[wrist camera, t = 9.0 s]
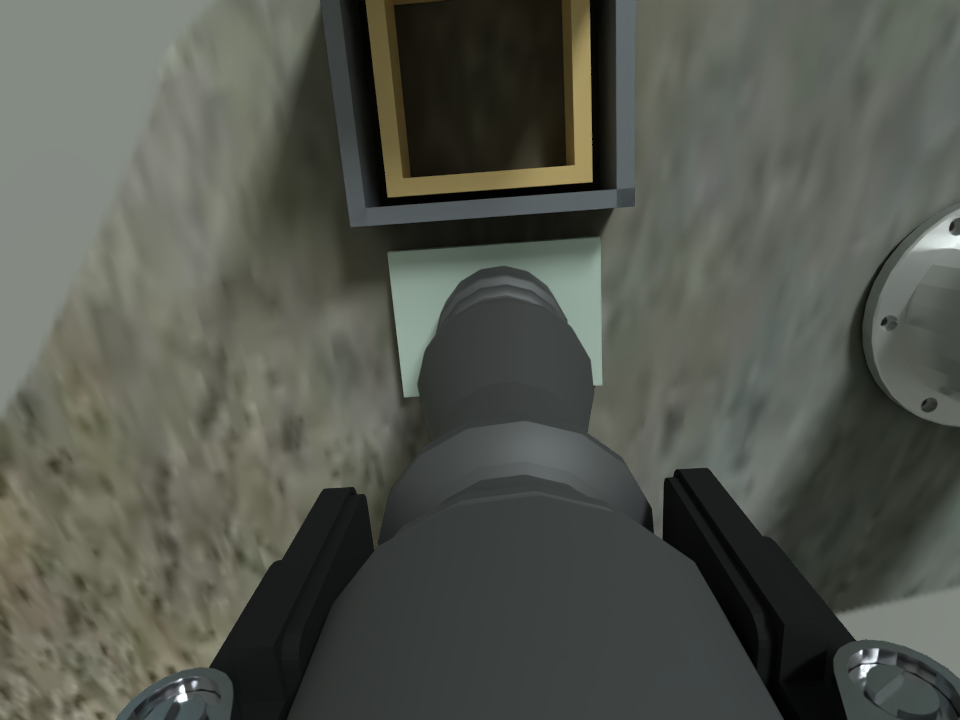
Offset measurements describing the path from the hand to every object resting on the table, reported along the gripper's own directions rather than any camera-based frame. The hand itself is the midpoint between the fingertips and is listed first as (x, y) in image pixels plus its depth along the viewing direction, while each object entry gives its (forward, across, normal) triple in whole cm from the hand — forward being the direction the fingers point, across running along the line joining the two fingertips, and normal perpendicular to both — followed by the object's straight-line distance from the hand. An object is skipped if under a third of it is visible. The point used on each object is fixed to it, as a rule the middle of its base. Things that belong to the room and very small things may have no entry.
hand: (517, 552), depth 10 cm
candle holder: (+19, 0, 0) cm, 19 cm away
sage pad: (+21, 0, 0) cm, 21 cm away
